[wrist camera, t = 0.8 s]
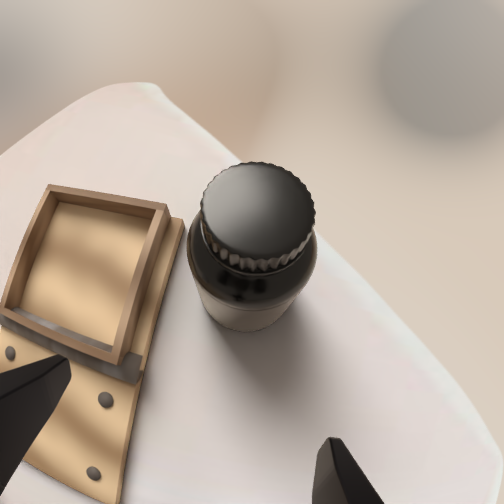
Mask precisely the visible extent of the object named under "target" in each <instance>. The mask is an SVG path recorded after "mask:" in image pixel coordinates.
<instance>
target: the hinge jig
mask: <svg viewBox="0 0 504 504" xmlns="http://www.w3.org/2000/svg"><path fill="white" fill-rule="evenodd" d="M184 227H185V225H184V222H183V219H179V218H174V217H171V215H170V213H169V210H168V207H167V204H164V203H158V202H153V201H147V200H142V199H136V198H130V197H125V196H119V195H113V194H107V193H101V192H95V191H89V190H83V189H77V188H70V187H64V186H58V185H51V184H48V186H47V188H46V190H45V192H44V194H43V196H42V198H41V200H40V202H39V204H38V206H37V208H36V210H35V212H34V215H33V217H32V219H31V221H30V223H29V226H28V228H27V230H26V233H25V235H24V237H23V240H22V242H21V245H20V247H19V250H18V252H17V255H16V257H15V260H14V263H13V266H12V268H11V271H10V274H9V277H8V280H7V283H6V286H5V289H4V293H3V296H2V299H1V303H0V325H2V326H1V330H0V373H2V372H5V371H8V370H11V369H14V368H17V367H20V366H23V365H26V364H29V363H32V362H35V361H38V360H41V359H44V358H47V357H50V356H53V355H56V354H61V355H63V356H65V357H67V358H68V359H69V361H70V367H71V373H72V377H71V380H70V382H69V384H68V386H67V388H66V390H65V392H64V393H63V395H62V397H61V399H60V401H59V403H58V405H57V407H56V408H55V410H54V412H53V413H52V415H51V416H50V418H49V419H48V421H47V422H46V424H45V425H44V427H43V428H42V430H41V431H40V433H39V434H38V436H37V437H36V439H35V440H34V442H33V443H32V445H31V446H30V448H29V450H28V451H27V453H26V454H25V456H24V457H23V460H25V461H26V462H28V463H29V464H31V465H33V466H34V467H36V468H37V469H39V470H41V471H42V472H44V473H46V474H47V475H49V476H51V477H53V478H54V479H56V480H58V481H60V482H62V483H64V484H65V485H67V486H69V487H71V488H73V489H75V490H77V491H79V492H81V493H83V494H85V495H88V496H90V497H92V498H94V499H96V500H99V501H101V502H103V503H105V504H119V503H120V497H121V489H122V482H123V476H124V469H125V463H126V457H127V451H128V446H129V440H130V435H131V429H132V424H133V419H134V414H135V409H136V405H137V400H138V395H139V391H140V386H141V382H142V377H143V373H144V369H145V364H146V360H147V356H148V352H149V348H150V344H151V340H152V336H153V332H154V329H155V325H156V321H157V317H158V314H159V310H160V306H161V303H162V299H163V296H164V292H165V289H166V285H167V282H168V278H169V275H170V272H171V268H172V265H173V262H174V258H175V255H176V252H177V249H178V245H179V242H180V239H181V236H182V233H183V230H184Z"/></svg>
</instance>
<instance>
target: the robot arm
mask: <svg viewBox="0 0 504 504" xmlns="http://www.w3.org/2000/svg"><path fill="white" fill-rule="evenodd" d="M71 377H72V373H71V367H70V361H69V359H68V358H67V357H65V356H63V355H61V354H56V355H53V356H50V357H47V358H44V359H41V360H38V361H35V362H32V363H29V364H26V365H23V366H20V367H17V368H14V369H11V370H8V371H5V372H2V373H0V496H1V494H2V492H3V491H4V489H5V487H6V485H7V483H8V482H9V480H10V478H11V477H12V475H13V473H14V472H15V470H16V469H17V467H18V465H19V464H20V462H21V461H22V459H23V457H24V456H25V454H26V453H27V451H28V450H29V448H30V446H31V445H32V443H33V442H34V440H35V439H36V437H37V436H38V434H39V433H40V431H41V430H42V428H43V427H44V425H45V424H46V422H47V421H48V419H49V418H50V416H51V415H52V413H53V412H54V410H55V408H56V407H57V405H58V403H59V401H60V399H61V397H62V395H63V393H64V392H65V390H66V388H67V386H68V384H69V382H70V380H71ZM312 504H384V502H383V501H382V499H381V498H380V496H379V495H378V493H377V492H376V491H375V489H374V488H373V486H372V485H371V483H370V482H369V480H368V479H367V477H366V476H365V474H364V473H363V471H362V470H361V468H360V467H359V465H358V464H357V462H356V461H355V459H354V458H353V456H352V455H351V453H350V452H349V450H348V449H347V447H346V446H345V444H344V443H343V441H342V440H341V439H340V438H334V437H329V438H327V439H326V441H325V442H324V444H323V445H322V447H321V448H320V449H319V451H318V454H317V461H316V469H315V476H314V484H313V492H312Z"/></svg>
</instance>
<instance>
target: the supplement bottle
mask: <svg viewBox="0 0 504 504" xmlns="http://www.w3.org/2000/svg"><path fill="white" fill-rule="evenodd" d="M200 206H201V210H200V211H199V212H198V214H197V215H196V217H195V218H194V220H193V222H192V224H191V226H190V229H189V233H188V237H187V257H188V262H189V266H190V269H191V272H192V275H193V278H194V281H195V283H196V286H197V289H198V292H199V294H200V297H201V300H202V302H203V304H204V306H205V308H206V310H207V311H208V313H209V314H210V315H211V316H212V317H213V319H215V320H216V321H217V322H218V323H220V324H221V325H223V326H225V327H227V328H229V329H232V330H236V331H242V332H251V331H257V330H260V329H263V328H265V327H267V326H269V325H271V324H273V323H274V322H275V321H276V320H278V319H279V318H280V317H281V315H282V314H283V313H284V312H285V311H286V310H287V308H288V307H289V306H290V304H291V303H292V302H293V301H294V299H295V298H296V297H297V296H298V294H299V293H300V292H301V290H302V289H303V288H304V287H305V285H306V284H307V282H308V280H309V279H310V277H311V275H312V273H313V270H314V267H315V264H316V259H317V241H316V236H315V232H314V229H313V227H314V225H315V219H314V217H315V214H316V212H315V209H314V202H313V200H312V199H311V193H310V192H309V191H308V190H307V188H306V185H305V184H303V183H302V182H301V181H300V179H299V178H298V177H296V176H294V175H293V174H292V172H290V171H287V170H285V169H284V168H282V167H280V166H276V165H274V164H270V163H269V164H267V163H264V162H257V163H256V162H248V163H240V164H238V165H234V166H231V167H229V168H228V169H226V170H223V171H222V172H221V173H220V174H219V175H217V176H215V177H214V179H213V181H211V182H210V183H209V184H208V187H207V189H206V190H205V191H204V192H203V198H202V200H201V202H200Z"/></svg>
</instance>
